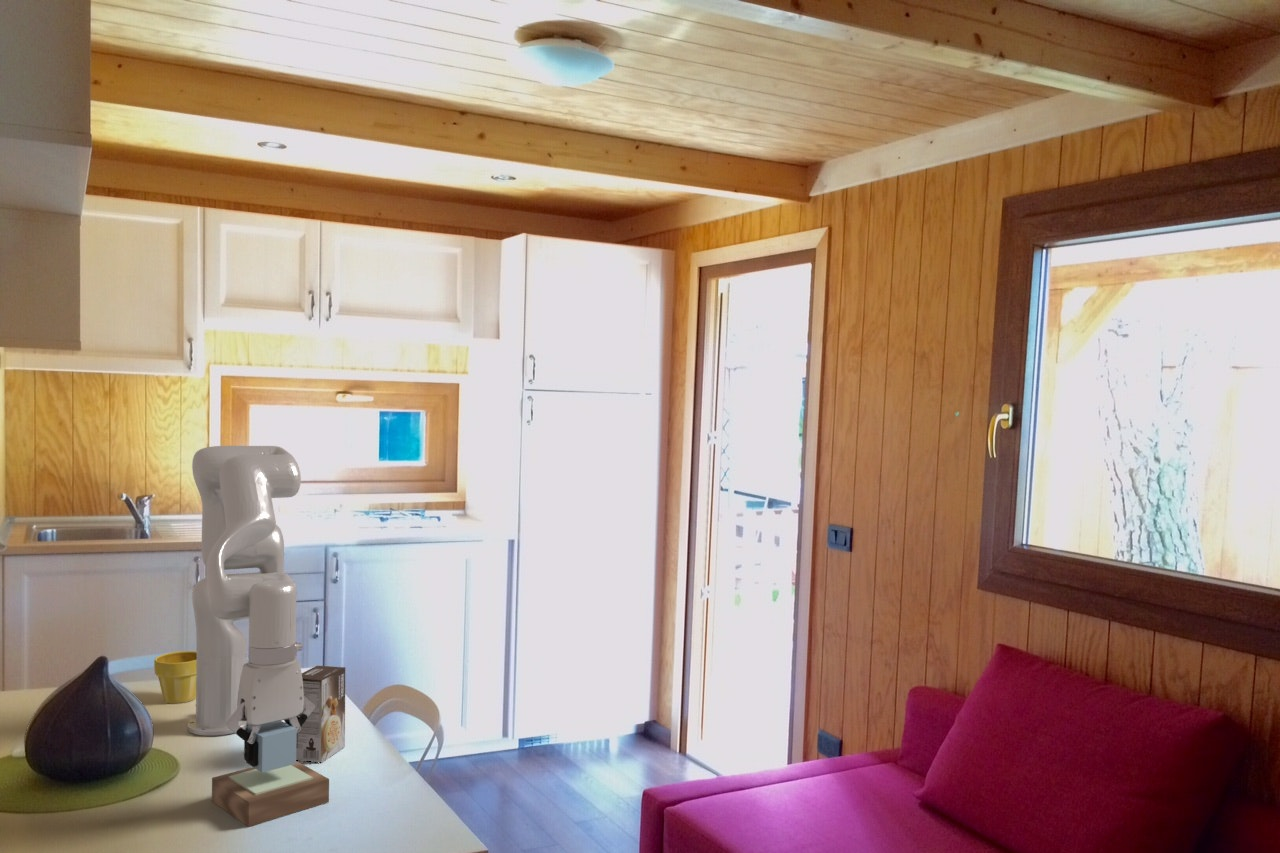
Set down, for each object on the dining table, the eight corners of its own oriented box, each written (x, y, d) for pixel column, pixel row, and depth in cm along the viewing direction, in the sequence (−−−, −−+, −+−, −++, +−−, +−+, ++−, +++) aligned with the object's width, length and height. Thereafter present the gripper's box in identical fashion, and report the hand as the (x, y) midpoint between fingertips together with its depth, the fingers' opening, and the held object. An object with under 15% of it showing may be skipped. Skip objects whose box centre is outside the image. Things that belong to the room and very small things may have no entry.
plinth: (211, 800, 166) (212, 775, 166) (289, 779, 177) (290, 755, 176) (248, 826, 157) (249, 800, 157) (328, 802, 167) (329, 777, 167)
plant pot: (152, 708, 214) (152, 664, 214) (155, 695, 223) (155, 652, 223) (204, 703, 218) (204, 660, 218) (205, 690, 228) (205, 649, 227)
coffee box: (316, 744, 194) (317, 664, 194) (345, 747, 193) (346, 666, 193) (290, 760, 185) (292, 676, 185) (321, 764, 184) (322, 679, 184)
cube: (246, 763, 166) (246, 728, 166) (279, 754, 171) (280, 720, 171) (262, 772, 162) (262, 737, 162) (296, 763, 167) (296, 728, 166)
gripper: (308, 642, 175) (307, 741, 175) (211, 658, 162) (210, 766, 163) (330, 649, 170) (328, 752, 170) (231, 667, 157) (230, 778, 158)
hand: (271, 758), depth 166 cm, fingers closed on cube, 6 cm apart
